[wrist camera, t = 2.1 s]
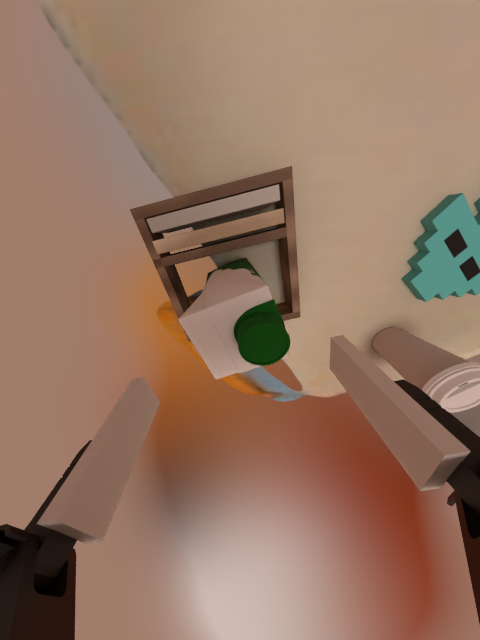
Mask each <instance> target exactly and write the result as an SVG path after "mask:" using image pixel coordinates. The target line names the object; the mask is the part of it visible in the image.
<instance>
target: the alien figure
mask: <svg viewBox="0 0 480 640" xmlns="http://www.w3.org/2000/svg"><path fill="white" fill-rule="evenodd" d="M474 204H475V206H476V208H477V211H478V213H479V214H478V215H476V216H475V217H474V216H473V213H472V211H471V209H470V207H469V205H468V203H467V201H466V199H465V196H464V194H463V193H460V194H454V195H449V196H448V197H446V198H445V199H444V200H443V201H442V202H441V203H440V204H439V205H438V206H437V207H436V208H435V209H434V210H432V211H431V212H430V213H429V214H428V215H427V216H426V217H425V218H424V219H423V220H422V221H421V223H422V225H423V226H424V228H425V230H426V232H425V233H424V234H423V235H421V236H420V237H419V238H418V239H417V240H416V241H415V242H414V244H415V245H416V247H417V248H418V250H419V252H418V253H416V254H415V255H414V256H413V257H412V258H411V259H410V260H408V261H407V262H408V263H409V264H410V266H411V267H412V270H411V271H410V272H409V273H408V274H407V275H405V276H404V277H403V278H402V280H403V281H404V282H405V284H406V285H407V286H408V287H409V289H410V290H411V291H412V292H413V294H414V295H415V296H416V298H417V299H420V300H423V301H425V302H427V301H428V300H430V299H431V298H432V297H436V298H439V299H442V300H443V299H445V298H446V297H447V296H449V295H452V296H456V297H459V298H460V297H461V296H462V295H464V294H465V293H469V294H473V295H477V294H479V293H480V199H478V200H477V201H476V202H475V203H474Z"/></svg>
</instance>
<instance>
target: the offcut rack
mask: <svg viewBox="0 0 480 640" xmlns="http://www.w3.org/2000/svg"><path fill="white" fill-rule="evenodd" d="M278 184H279V191H280V200H279V201H278V202H276V210H277V209H281V208H283V209H284V221H285V223H281V224H278V228H275V229H271V230H267V231H263V232H259V233H255V234H251V235H247V236H243V237H238V238H234V239H230V240H226V241H222V242H218V243H214V244H210V245H206V246H202V247H198V248H195V249H190V250H187V251H183V252H178V253H174V254H170V252H165V253H161V254H157V252H156V249H155V247H154V245H153V242H152V241H156V240H160V239H164V236H163V234H162V233H152V231H151V229H150V227H149V224H148V222H147V219H149V218H153V217H157V216H160V215H164V214H168V213H172V212H176V211H179V210H183V209H187V208H191V207H195V206H198V205H202V204H206V203H210V202H214V201H217V200H221V199H225V198H229V197H232V196H236V195H240V194H244V193H248V192H251V191H255V190H259V189H263V188H267V187H270V186H274V185H278ZM130 211H131V213H132V215H133V217H134V220H135V222H136V224H137V226H138V229H139V231H140V233H141V235H142V238H143V240H144V242H145V244H146V247H147V249H148V251H149V253H150V256H151V258H152V260H153V262H154V265H155V267H156V269H157V271H158V273H159V276H160V278H161V280H162V282H163V285H164V287H165V289H166V291H167V294H168V296H169V298H170V300H171V302H172V305H173V307H174V309H175V311H176V314H177V316H178V318H180V317H181V316H182V315H183V314H184V312H185V311H186V310H187V309H188V308H189V307H190V306H191V305H190V303H189V300H188V298H187V295H186V293H185V290H184V287H183V285H182V282H181V280H180V277H179V275H178V272H177V270H176V267H175V264H178V263H182V262H185V261H190V260H194V259H198V258H202V257H206V256H210V255H215V254H219V253H223V252H227V251H231V250H235V249H239V248H243V247H247V246H251V245H255V244H259V243H264V242H268V241H272V240H276V239H279V242H280V252H281V262H282V272H283V282H284V292H285V302H286V303H282V304H278V305H276V307H277V310H278V311H279V313H280V314H281V316H282V319H283V321H285V320H289V319H294V318H298V317H300V301H299V283H298V266H297V248H296V230H295V212H294V194H293V177H292V166H290V167H286V168H283V169H279V170H275V171H272V172H268V173H264V174H260V175H257V176H253V177H249V178H245V179H242V180H238V181H234V182H231V183H227V184H223V185H219V186H216V187H212V188H208V189H205V190H201V191H197V192H193V193H190V194H186V195H182V196H178V197H175V198H172V199H167V200H164V201H160V202H156V203H153V204H149V205H145V206H142V207H138V208H134V209H131V210H130ZM184 332H185V330H184ZM185 334H186V332H185ZM186 336H187V338H188V340H189V341H191V340H190V338H189V337H188V335H187V334H186Z"/></svg>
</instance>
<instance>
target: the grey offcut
mask: <svg viewBox="0 0 480 640" xmlns="http://www.w3.org/2000/svg"><path fill="white" fill-rule="evenodd" d="M279 200H280V191H279V184H278V185H274V186H270V187H267V188H263V189H259V190H255V191H251V192H248V193H244V194H240V195H236V196H232V197H229V198H225V199H221V200H217V201H214V202H210V203H206V204H202V205H198V206H195V207H191V208H187V209H183V210H179V211H176V212H172V213H168V214H164V215H160V216H157V217H153V218H149V219H147V222H148V224H149V227H150V229H151V231H152V233H170V232H173V231H177V230H181V229H185V228H189V227H193V226H197V225H200V224H204V223H208V222H212V221H216V220H220V219H224V218H228V217H232V216H236V215H239V214H243V213H247V212H251V211H255V210H259V209H263V208H267V207H270V206H271V205H273V204H275V203H276V202H278V201H279Z"/></svg>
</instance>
